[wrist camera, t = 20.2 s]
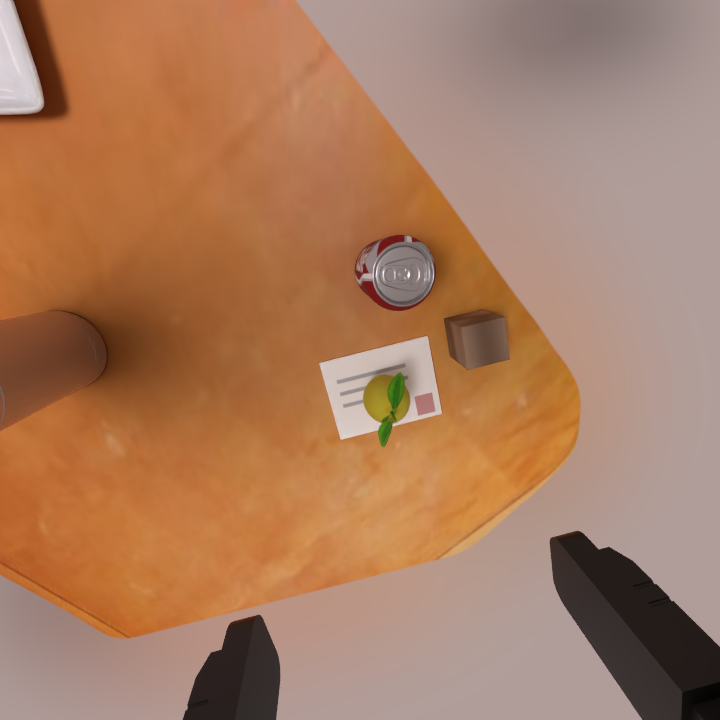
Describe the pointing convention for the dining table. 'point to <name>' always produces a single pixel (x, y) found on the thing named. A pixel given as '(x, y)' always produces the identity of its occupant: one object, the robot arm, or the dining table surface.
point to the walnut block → (477, 338)
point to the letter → (359, 369)
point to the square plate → (16, 67)
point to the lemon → (386, 402)
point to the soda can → (396, 272)
